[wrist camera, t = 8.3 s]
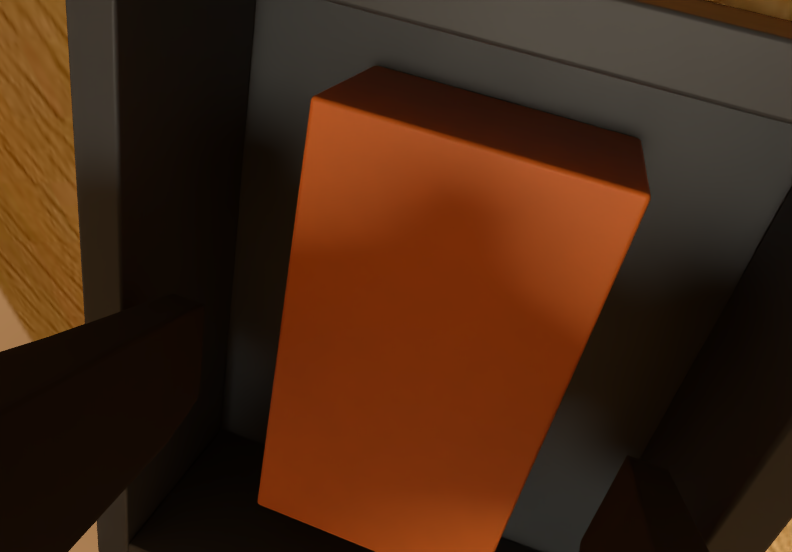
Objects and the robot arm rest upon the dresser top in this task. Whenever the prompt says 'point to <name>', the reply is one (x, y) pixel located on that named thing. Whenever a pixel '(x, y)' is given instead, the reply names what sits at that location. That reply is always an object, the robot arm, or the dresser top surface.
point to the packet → (436, 306)
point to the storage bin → (497, 78)
